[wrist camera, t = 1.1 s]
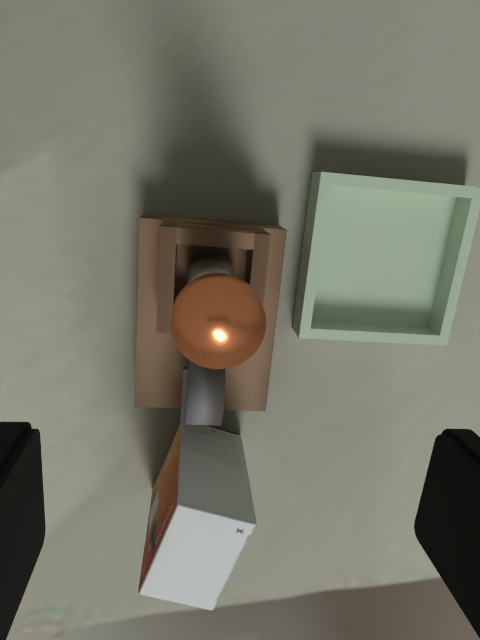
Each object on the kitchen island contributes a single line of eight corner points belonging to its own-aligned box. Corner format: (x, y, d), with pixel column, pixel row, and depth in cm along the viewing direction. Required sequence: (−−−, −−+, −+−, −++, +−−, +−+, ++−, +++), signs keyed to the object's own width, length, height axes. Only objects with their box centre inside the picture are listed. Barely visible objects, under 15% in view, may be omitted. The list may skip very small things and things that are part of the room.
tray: (464, 187, 34) (485, 187, 32) (431, 334, 38) (447, 345, 35) (311, 172, 33) (321, 171, 30) (291, 327, 36) (298, 338, 34)
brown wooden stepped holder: (278, 225, 33) (304, 240, 26) (260, 393, 38) (277, 450, 30) (143, 214, 32) (127, 226, 24) (139, 389, 36) (124, 447, 29)
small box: (181, 415, 38) (177, 501, 28) (242, 434, 39) (259, 523, 29) (150, 490, 40) (135, 596, 30) (208, 506, 41) (213, 614, 31)
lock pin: (244, 245, 31) (271, 281, 20) (239, 307, 32) (261, 371, 21) (180, 240, 30) (172, 274, 20) (177, 303, 31) (168, 367, 21)
